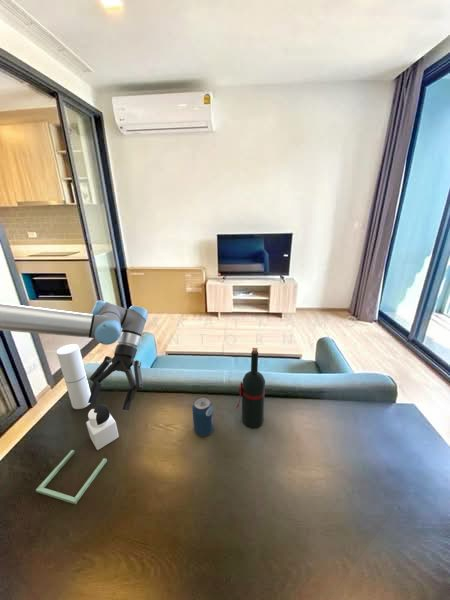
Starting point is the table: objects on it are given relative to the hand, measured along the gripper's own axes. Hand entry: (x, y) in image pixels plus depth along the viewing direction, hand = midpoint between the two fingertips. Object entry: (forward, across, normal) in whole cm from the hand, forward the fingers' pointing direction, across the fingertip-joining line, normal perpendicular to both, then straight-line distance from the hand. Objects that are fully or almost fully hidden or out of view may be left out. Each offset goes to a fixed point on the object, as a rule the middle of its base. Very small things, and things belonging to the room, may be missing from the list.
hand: (108, 406), depth 86 cm
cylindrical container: (+1, +20, -12) cm, 24 cm away
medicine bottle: (+10, 0, -4) cm, 11 cm away
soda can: (+2, -32, -12) cm, 34 cm away
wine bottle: (-3, -47, -17) cm, 50 cm away
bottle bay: (+19, 0, +6) cm, 20 cm away
